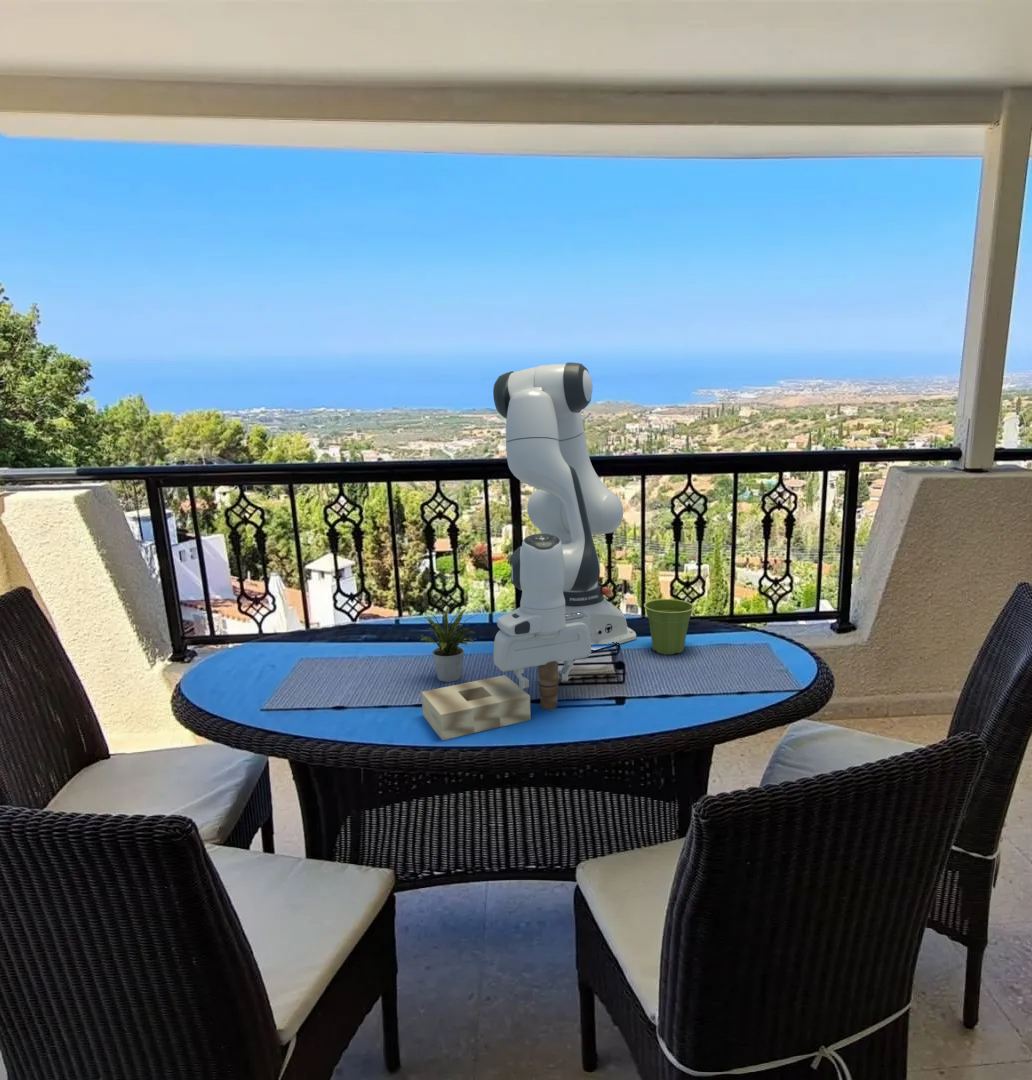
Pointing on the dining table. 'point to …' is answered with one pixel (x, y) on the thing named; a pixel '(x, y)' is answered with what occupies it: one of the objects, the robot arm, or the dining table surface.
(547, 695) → the peg
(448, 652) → the house plant
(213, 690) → the dining table surface
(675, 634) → the plant pot
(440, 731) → the seat block
